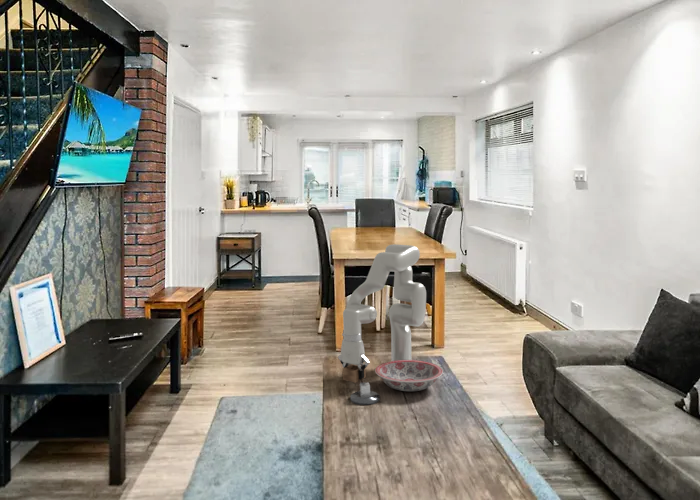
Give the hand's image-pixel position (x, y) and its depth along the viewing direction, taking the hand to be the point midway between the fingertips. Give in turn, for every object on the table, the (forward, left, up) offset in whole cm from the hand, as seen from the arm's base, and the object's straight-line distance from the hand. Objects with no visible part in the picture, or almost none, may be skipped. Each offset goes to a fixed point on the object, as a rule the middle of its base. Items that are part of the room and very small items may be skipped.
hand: (354, 376), depth 244 cm
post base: (+14, +2, -5) cm, 15 cm away
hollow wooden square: (0, 0, -1) cm, 1 cm away
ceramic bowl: (+4, +23, -6) cm, 24 cm away
